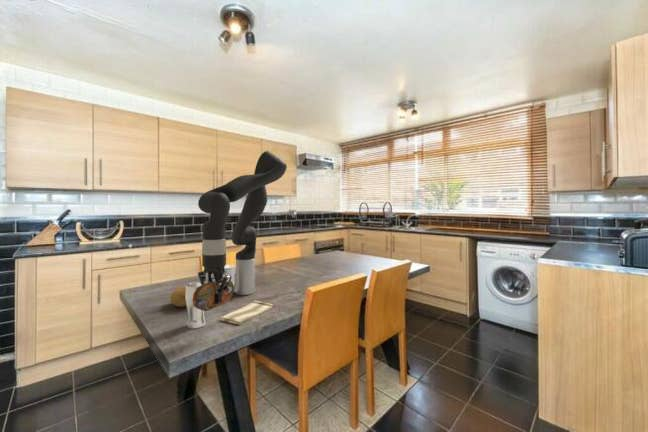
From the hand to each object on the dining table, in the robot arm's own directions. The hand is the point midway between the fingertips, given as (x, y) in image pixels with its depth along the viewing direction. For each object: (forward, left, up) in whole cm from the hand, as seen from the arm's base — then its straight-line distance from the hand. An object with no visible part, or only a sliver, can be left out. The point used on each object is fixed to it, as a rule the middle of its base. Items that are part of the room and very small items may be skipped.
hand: (214, 302), depth 93 cm
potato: (-33, +13, -11) cm, 38 cm away
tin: (0, 0, -1) cm, 1 cm away
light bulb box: (-40, +43, -11) cm, 60 cm away
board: (-2, +19, -11) cm, 22 cm away
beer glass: (-12, +2, -11) cm, 16 cm away
